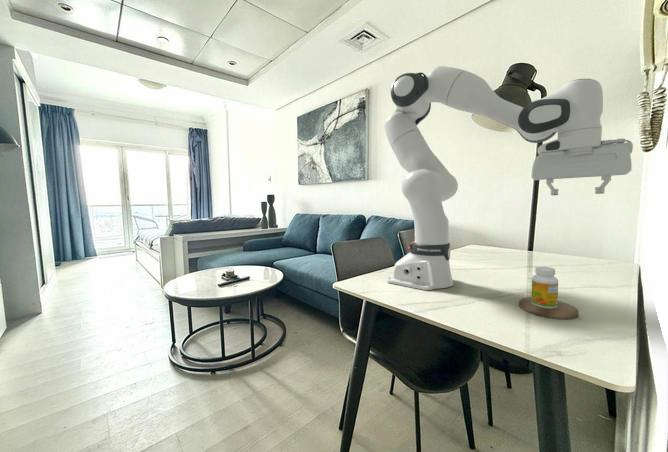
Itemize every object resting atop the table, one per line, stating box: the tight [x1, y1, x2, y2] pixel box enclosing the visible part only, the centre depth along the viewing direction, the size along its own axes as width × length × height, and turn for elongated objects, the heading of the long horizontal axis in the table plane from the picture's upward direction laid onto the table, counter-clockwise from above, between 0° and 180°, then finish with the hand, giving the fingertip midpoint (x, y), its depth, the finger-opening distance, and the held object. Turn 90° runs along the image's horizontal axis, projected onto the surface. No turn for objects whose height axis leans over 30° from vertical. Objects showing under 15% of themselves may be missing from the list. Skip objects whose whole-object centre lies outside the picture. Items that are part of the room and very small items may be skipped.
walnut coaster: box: [518, 296, 580, 320], centre depth 70 cm, size 12×12×1 cm
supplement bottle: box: [530, 266, 559, 309], centre depth 70 cm, size 5×5×10 cm
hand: (576, 194), depth 75 cm, fingers open, 8 cm apart
